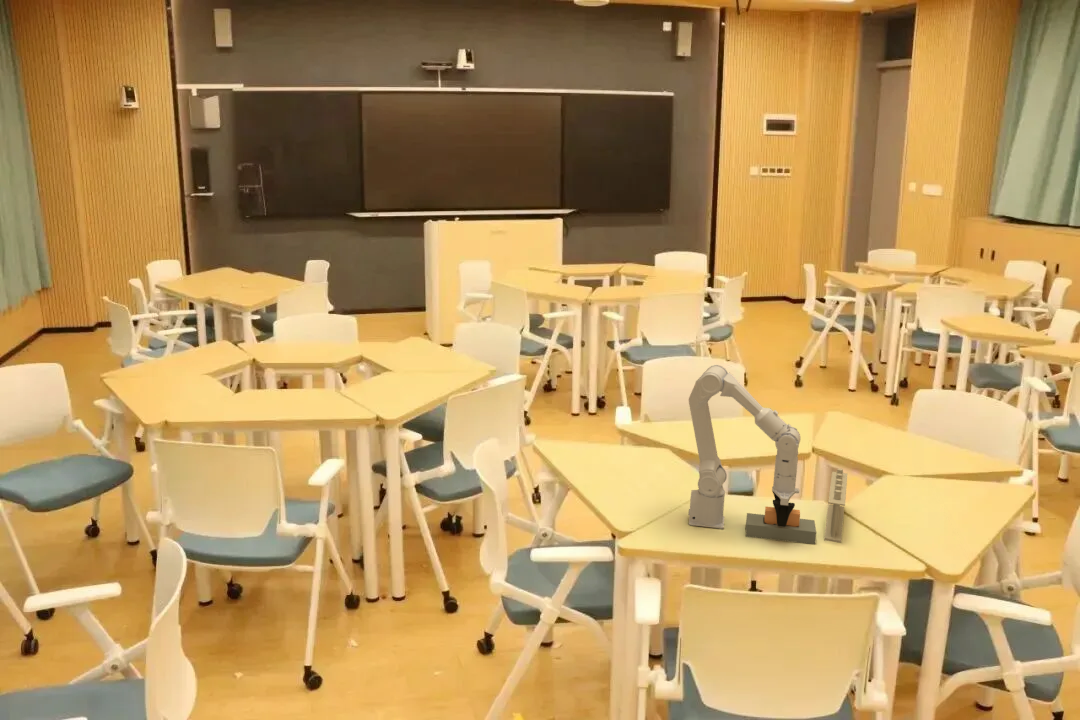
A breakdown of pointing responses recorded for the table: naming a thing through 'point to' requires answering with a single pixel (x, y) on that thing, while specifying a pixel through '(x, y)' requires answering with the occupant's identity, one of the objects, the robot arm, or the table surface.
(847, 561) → the table surface
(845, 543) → the table surface
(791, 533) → the socket rail
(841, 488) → the test tube rack
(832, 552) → the table surface
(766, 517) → the orange c-shaped bracket
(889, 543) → the table surface
